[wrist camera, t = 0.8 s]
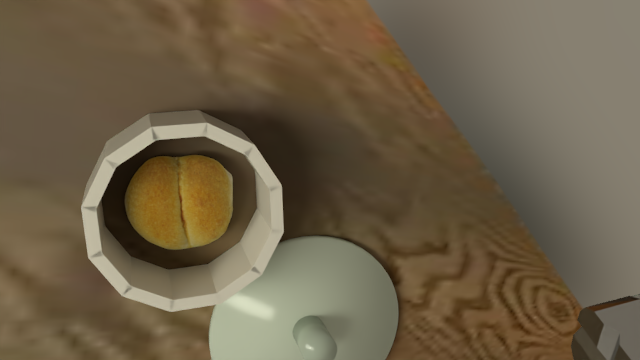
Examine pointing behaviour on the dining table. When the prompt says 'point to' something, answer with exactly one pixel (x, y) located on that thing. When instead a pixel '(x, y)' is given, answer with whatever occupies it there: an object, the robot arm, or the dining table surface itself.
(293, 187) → the dining table surface
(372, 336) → the lid
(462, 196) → the dining table surface
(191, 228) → the bread roll
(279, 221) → the bowl
